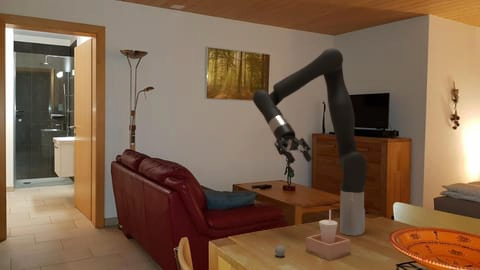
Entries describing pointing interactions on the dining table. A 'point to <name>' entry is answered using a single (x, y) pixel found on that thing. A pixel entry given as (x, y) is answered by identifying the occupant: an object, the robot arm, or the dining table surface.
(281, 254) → the ball
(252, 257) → the dining table surface
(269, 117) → the robot arm
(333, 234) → the smoothie
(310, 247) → the pink square tray
